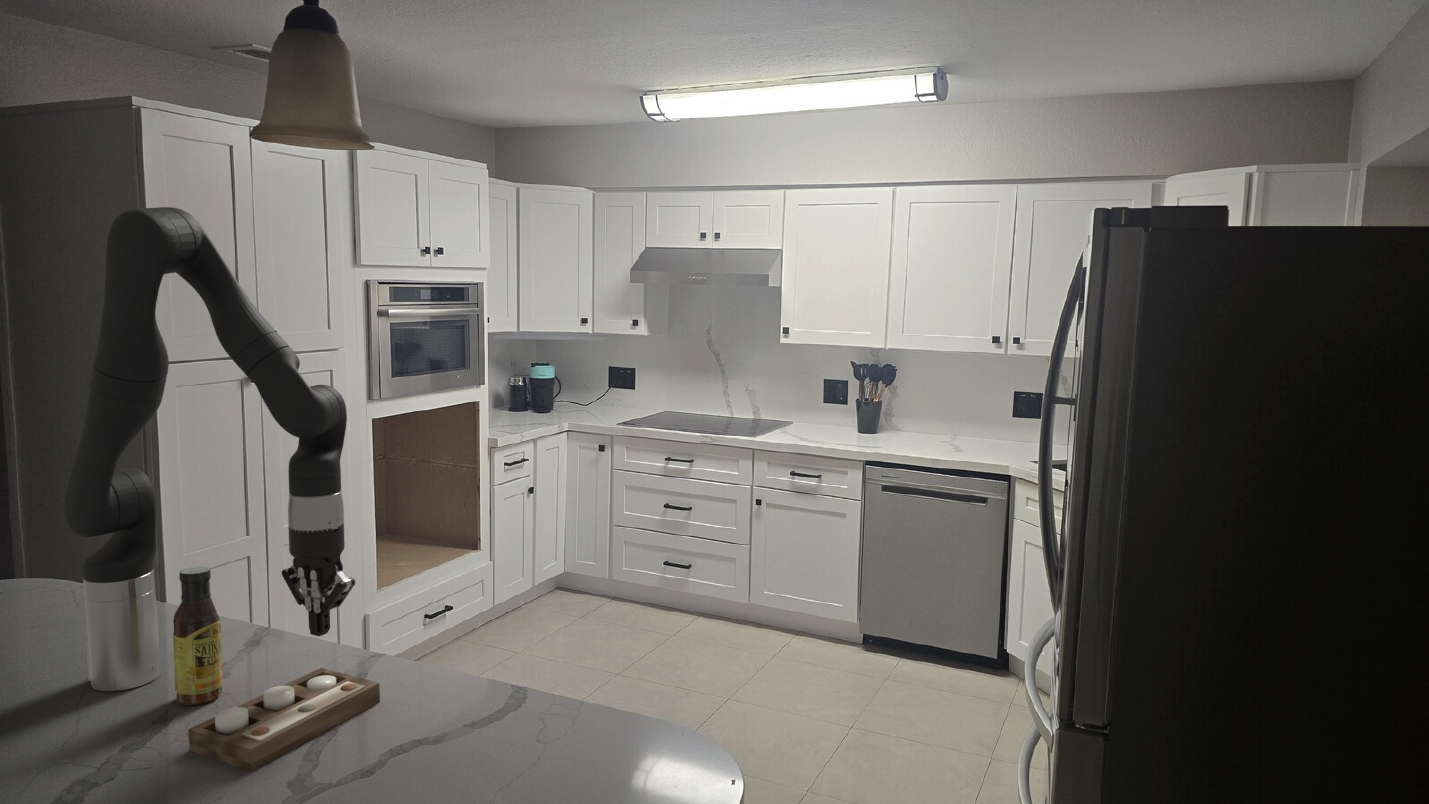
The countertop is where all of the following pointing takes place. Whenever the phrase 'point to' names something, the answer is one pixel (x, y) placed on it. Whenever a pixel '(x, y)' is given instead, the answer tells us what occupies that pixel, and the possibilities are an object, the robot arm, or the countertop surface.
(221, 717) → the button
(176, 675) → the sauce bottle
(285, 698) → the button
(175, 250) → the robot arm
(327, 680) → the button
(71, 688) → the countertop surface
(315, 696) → the button panel
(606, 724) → the countertop surface
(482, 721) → the countertop surface
